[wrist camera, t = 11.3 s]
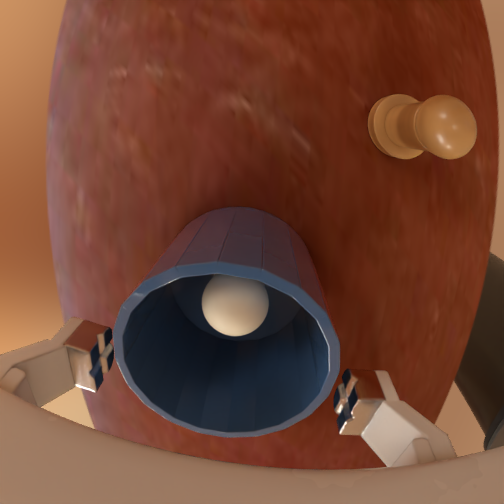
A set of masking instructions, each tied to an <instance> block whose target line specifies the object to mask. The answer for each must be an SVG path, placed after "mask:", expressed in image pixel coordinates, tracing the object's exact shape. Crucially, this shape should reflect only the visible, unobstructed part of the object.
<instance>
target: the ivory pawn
mask: <svg viewBox="0 0 504 504" xmlns="http://www.w3.org/2000/svg"><path fill="white" fill-rule="evenodd" d="M268 307H269V299H268V294H267V291H266V289H265V283H263V282H261V281H259V280H254V279H248V278H242V277H236V276H230V275H225V274H219V273H217V274H214V277H213V278H212V279H211V280H210V281H209V283H208V284H207V286H206V288H205V289H204V292H203V296H202V309H203V313H204V316H205V318H206V320H207V321H208V323H209V324H210V325H211V326H212V327H213V328H214V329H215V330H217V331H219V332H220V333H223V334H225V335H229V336H241V335H245V334H248V333H250V332H252V331H254V330H255V329H257V328H258V327H259V326H260V325H261V324H262V322H263V321H264V319H265V317H266V315H267V312H268Z"/></svg>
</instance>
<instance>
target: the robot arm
mask: <svg viewBox="0 0 504 504" xmlns="http://www.w3.org/2000/svg"><path fill="white" fill-rule="evenodd" d="M112 338H113V337H112V329H111V328H110V327H107V326H103V325H100V324H97V323H94V322H90V321H87V320H83V319H80V318H77V317H71V318H70V319H69V320H68V321H67V322H66V324H65V325H64V326H63V327H62V328H61V329H60V330H59V332H58V333H57V334H56V335H55V336H54V337H53V338H52V339H51V340H48V339H46V340H43V341H40V342H37V343H34V344H31V345H28V346H25V347H22V348H19V349H16V350H13V351H10V352H7V353H4V354H1V355H0V504H504V446H501V447H498V448H494V449H490V450H487V451H483V452H479V453H475V454H470V455H466V456H461V457H457V455H456V453H455V450H454V448H453V446H452V444H451V441H450V439H449V437H448V435H447V434H446V433H445V432H443V431H442V430H441V429H439V428H438V427H437V426H435V425H434V424H433V423H432V422H430V421H429V420H428V419H426V418H425V417H424V416H422V415H421V414H420V413H419V412H417V411H416V410H415V409H413V408H412V407H411V406H409V405H408V404H407V403H406V402H404V401H400V400H399V397H398V395H397V393H396V390H395V388H394V386H393V383H392V381H391V379H390V376H389V374H388V372H387V371H385V370H358V369H346V370H345V372H344V374H343V376H342V380H343V383H342V384H340V385H339V386H338V387H337V389H336V392H335V395H334V410H335V412H336V413H337V414H338V415H339V416H338V418H337V420H336V421H337V426H338V431H339V434H341V435H362V436H361V437H362V438H363V439H364V440H365V441H366V442H367V444H368V445H369V446H370V447H371V448H372V449H373V451H374V452H375V453H376V454H377V455H378V456H379V457H380V459H381V460H382V461H383V462H384V463H385V464H386V465H387V467H384V468H369V469H343V470H317V469H290V468H276V467H264V466H254V465H245V464H238V463H230V462H223V461H217V460H211V459H205V458H200V457H195V456H190V455H185V454H180V453H176V452H171V451H167V450H163V449H159V448H155V447H151V446H147V445H143V444H140V443H136V442H133V441H129V440H126V439H123V438H119V437H116V436H113V435H110V434H107V433H104V432H101V431H98V430H95V429H92V428H90V427H87V426H84V425H81V424H79V423H76V422H73V421H71V420H69V419H66V418H64V417H61V416H59V415H57V414H54V413H52V412H50V411H47V410H45V409H43V408H41V407H42V406H43V405H45V404H47V403H48V402H50V401H52V400H54V399H55V398H57V397H59V396H60V395H62V394H64V393H66V392H67V391H69V390H71V389H73V388H74V387H75V386H78V387H80V388H83V389H87V390H90V391H93V392H97V391H98V389H99V387H100V385H101V384H102V382H103V374H105V373H107V372H109V370H110V368H111V366H112V363H113V359H114V347H113V346H112V345H111V343H110V341H111V339H112Z"/></svg>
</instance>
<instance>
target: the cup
mask: <svg viewBox="0 0 504 504" xmlns="http://www.w3.org/2000/svg"><path fill="white" fill-rule="evenodd" d="M217 273H219V274H225V275H230V276H236V277H242V278H248V279H254V280H259V281H261V282H263V283H265V289H266V291H267V294H268V299H269V307H268V312H267V315H266V317H265V319H264V321H263V322H262V324H261V325H260V326H259V327H258V328H257V329H255V330H254V331H252V332H250V333H248V334H245V335H241V336H229V335H225V334H223V333H220V332H219V331H217V330H215V329H214V328H213V327H212V326H211V325H210V324H209V323H208V321H207V320H206V318H205V316H204V313H203V309H202V296H203V292H204V289H205V288H206V286H207V284H208V283H209V281H210V280H211V279H212V278H213V277H214V274H217ZM113 341H114V352H115V359H116V362H117V364H118V366H119V368H120V370H121V373H122V375H123V377H124V379H125V381H126V383H127V385H128V386H129V387H130V388H131V389H132V390H133V392H134V393H135V394H136V395H137V396H138V397H139V398H140V399H141V400H142V402H143V403H144V404H145V405H147V406H148V407H149V408H151V409H152V410H154V411H155V412H157V413H158V414H160V415H161V416H162V417H164V418H165V419H167V420H169V421H171V422H172V423H175V424H177V425H180V426H182V427H185V428H187V429H190V430H192V431H195V432H198V433H203V434H208V435H214V436H220V437H228V438H230V437H255V436H261V435H265V434H268V433H272V432H276V431H280V430H283V429H286V428H288V427H290V426H291V425H293V424H295V423H297V422H299V421H301V420H302V419H304V418H306V417H308V416H309V415H311V414H312V413H313V412H314V411H315V410H316V409H317V408H318V407H319V406H320V405H321V403H322V402H323V401H324V400H325V399H326V398H327V397H328V396H329V394H330V392H331V390H332V387H333V385H334V383H335V381H336V378H337V376H338V374H339V371H340V341H339V338H338V335H337V331H336V328H335V325H334V322H333V319H332V316H331V313H330V310H329V307H328V304H327V301H326V298H325V295H324V292H323V289H322V286H321V283H320V280H319V277H318V274H317V271H316V268H315V266H314V263H313V261H312V258H311V256H310V254H309V251H308V249H307V247H306V245H305V243H304V242H303V240H302V239H301V238H300V236H299V235H298V234H297V233H296V232H295V231H294V230H293V229H292V228H291V227H290V226H289V225H288V224H287V223H285V222H284V221H282V220H281V219H279V218H277V217H276V216H274V215H272V214H270V213H267V212H264V211H262V210H258V209H254V208H248V207H227V208H220V209H217V210H213V211H210V212H208V213H205V214H203V215H201V216H199V217H198V218H196V219H194V220H193V221H191V222H190V223H189V224H188V225H187V226H186V227H184V229H183V230H182V231H181V232H180V233H179V234H178V235H177V236H176V237H175V238H174V239H173V241H172V242H171V243H170V244H169V245H168V247H167V248H166V249H165V250H164V251H163V253H162V254H161V255H160V256H159V258H158V259H157V260H156V261H155V263H154V264H153V265H152V266H151V268H150V269H149V270H148V271H147V273H146V274H145V275H144V276H143V278H142V279H141V280H140V282H139V283H138V284H137V285H136V287H135V288H134V289H133V290H132V292H131V293H130V294H129V296H128V297H127V298H126V300H125V301H124V302H123V304H122V305H121V307H120V310H119V313H118V316H117V320H116V323H115V326H114V329H113Z"/></svg>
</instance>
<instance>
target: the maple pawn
mask: <svg viewBox="0 0 504 504" xmlns="http://www.w3.org/2000/svg"><path fill="white" fill-rule="evenodd" d="M368 130H369V134H370V137H371V139H372V141H373V143H374V144H375V145H376V147H377V148H378V149H379V150H380V151H382V152H383V153H385V154H386V155H389V156H391V157H396V158H400V159H411V158H414V157H416V156H418V155H420V154H421V153H422V152H423V151H428V152H431V153H432V154H434V155H436V156H438V157H440V158H444V159H456V158H460V157H462V156H464V155H465V154H467V153H468V152H469V151H470V150H471V148H472V147H473V145H474V143H475V140H476V136H477V125H476V121H475V118H474V116H473V114H472V112H471V110H470V109H469V108H468V107H467V106H466V105H465V104H464V103H463V102H462V101H461V100H459V99H457V98H455V97H453V96H449V95H437V96H433V97H431V98H429V99H428V100H426V101H424V102H419V101H417V100H416V99H415V98H413V97H411V96H408V95H405V94H394V95H390V96H387V97H384V98H382V99H380V100H378V101H377V102H376V103H375V104H374V106H373V107H372V109H371V111H370V113H369V117H368Z"/></svg>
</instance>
